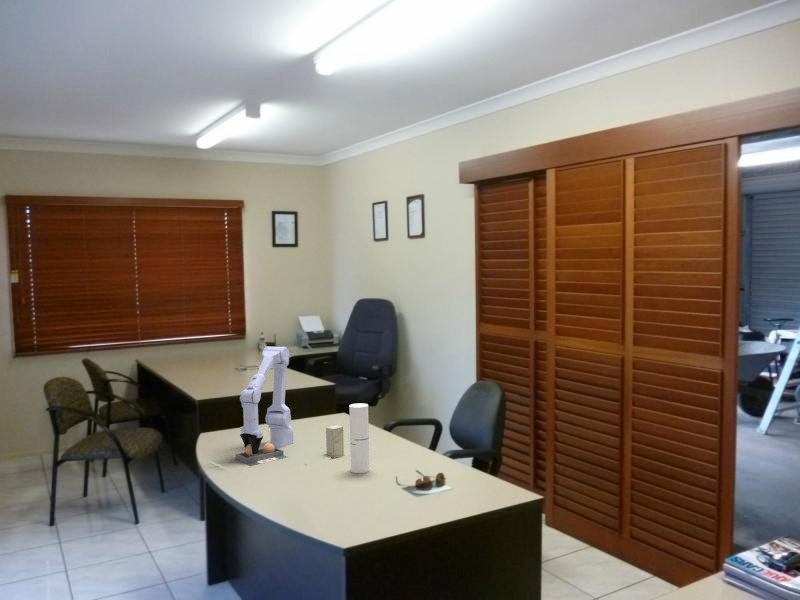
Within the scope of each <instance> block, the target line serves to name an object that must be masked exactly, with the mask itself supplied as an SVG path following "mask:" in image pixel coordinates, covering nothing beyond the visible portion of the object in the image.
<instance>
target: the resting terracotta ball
mask: <svg viewBox="0 0 800 600" xmlns="http://www.w3.org/2000/svg"><path fill="white" fill-rule="evenodd" d="M261 449H262V451H263V453H264V454H268V453H272V452H274V451H275V447H274V445H273V444H271V442H267V443H265V444H264V445H263V446H262V448H261Z"/></svg>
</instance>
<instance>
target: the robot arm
mask: <svg viewBox="0 0 800 600" xmlns="http://www.w3.org/2000/svg"><path fill="white" fill-rule="evenodd" d="M261 356H262V357H261V359H262V361H261V362H260V365H259V368H258V370H257V373H255V374H253V375H252V377H251V379H250V380H249V383H248V384H247V387H246V388H244V389H243V390H241V392H240V397H239V401H240V403H241V408H243V409H242V411H243V426H240V432H241V433H240V435H239V436H240V438H241V439H242V442H243V446H244V449H246V447H247V446H248V445H249V444H251V448H252V453H253V454H257V453H258V451H259V449H260V445H261V443H262V441H263V439H264V435H263V432H262V431H261V429H260V428H259V407H258V406H259V405H258V404H259V402H260V400H261V398H262V396H261V395H262V390H263V388H264V386H265V384H266V382H267V380H266V379H267V378H266V376H267V375H268V373H269V371H270V370H271V368H272V367H273V368H274V371H273V374H274V375H273V389H272V392H273V393H272V404H271V405H270V406H269V407H267V410H266V411H267V412H266V415H265V417H264V418H265V423H266V425H267V426H268V428H269V429H270V430H269V436H270V437H269V438H270V440H269V441H270V443H271V444H273V445H274V447H276V448H285V447H287V446H290V445H294V443H295V442H294V429H293V427H292V426H291V425H290V424H291V422H292V416H291V408H289V407H288V406H287V405H286V404H285V403H286V402H285V400H286V385H287V384H286V383H287V369H288V368H287V366H289V363H290V351H289V349H288V348H287V346H267V345H266V346H264V348H263V349H262V353H261Z"/></svg>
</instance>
